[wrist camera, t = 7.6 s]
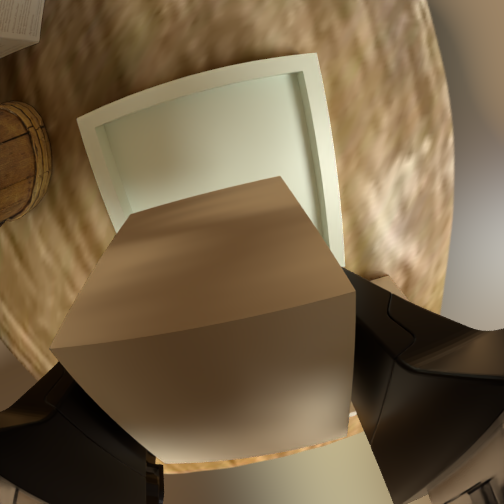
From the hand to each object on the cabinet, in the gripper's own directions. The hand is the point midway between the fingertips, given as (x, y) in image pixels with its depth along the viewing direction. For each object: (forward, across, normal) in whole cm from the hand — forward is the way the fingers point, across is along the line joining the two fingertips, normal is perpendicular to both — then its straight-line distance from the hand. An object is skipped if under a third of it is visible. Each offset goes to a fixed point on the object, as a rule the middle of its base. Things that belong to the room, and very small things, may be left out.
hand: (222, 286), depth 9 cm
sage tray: (+12, 0, 0) cm, 12 cm away
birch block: (+2, 0, 0) cm, 2 cm away
